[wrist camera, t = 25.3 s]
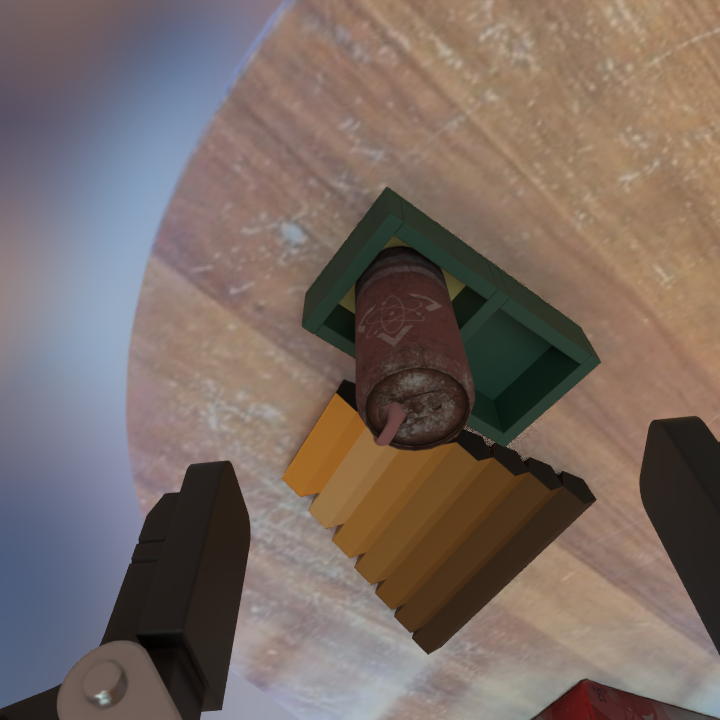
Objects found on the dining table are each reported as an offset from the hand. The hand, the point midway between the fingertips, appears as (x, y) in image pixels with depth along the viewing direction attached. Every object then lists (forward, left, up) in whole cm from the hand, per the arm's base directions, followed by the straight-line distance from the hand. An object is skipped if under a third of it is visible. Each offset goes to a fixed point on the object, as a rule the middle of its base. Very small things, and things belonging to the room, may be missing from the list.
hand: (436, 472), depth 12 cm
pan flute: (+23, -28, -30) cm, 47 cm away
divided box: (+12, -8, -30) cm, 33 cm away
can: (+8, -8, -30) cm, 32 cm away
